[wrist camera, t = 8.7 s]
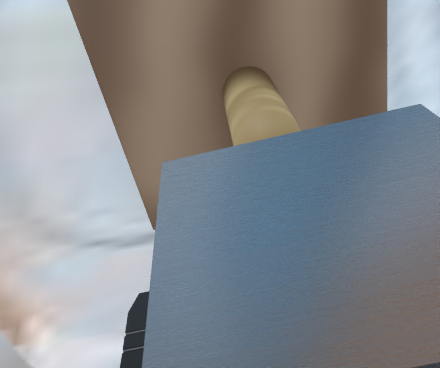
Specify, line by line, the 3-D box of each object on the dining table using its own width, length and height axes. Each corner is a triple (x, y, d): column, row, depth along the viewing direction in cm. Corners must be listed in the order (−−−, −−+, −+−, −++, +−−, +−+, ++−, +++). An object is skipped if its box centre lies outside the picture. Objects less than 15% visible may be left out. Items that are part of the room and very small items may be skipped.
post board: (372, -107, 18) (475, -129, 12) (377, 166, 25) (441, 245, 19) (65, -30, 19) (4, -11, 12) (155, 215, 26) (145, 306, 20)
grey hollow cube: (420, 104, 9) (707, 310, 4) (412, 290, 12) (571, 539, 7) (161, 162, 10) (136, 421, 4) (217, 330, 13) (239, 597, 8)
